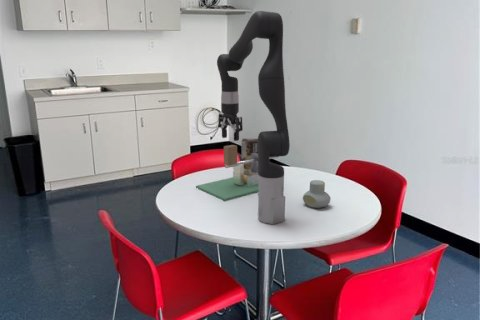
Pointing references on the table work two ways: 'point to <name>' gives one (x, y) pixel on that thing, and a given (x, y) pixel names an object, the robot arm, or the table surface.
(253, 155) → the rod support
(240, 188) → the pitch
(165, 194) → the table surface
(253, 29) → the robot arm
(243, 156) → the coffee box
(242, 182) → the rod
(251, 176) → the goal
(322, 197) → the air freshener
